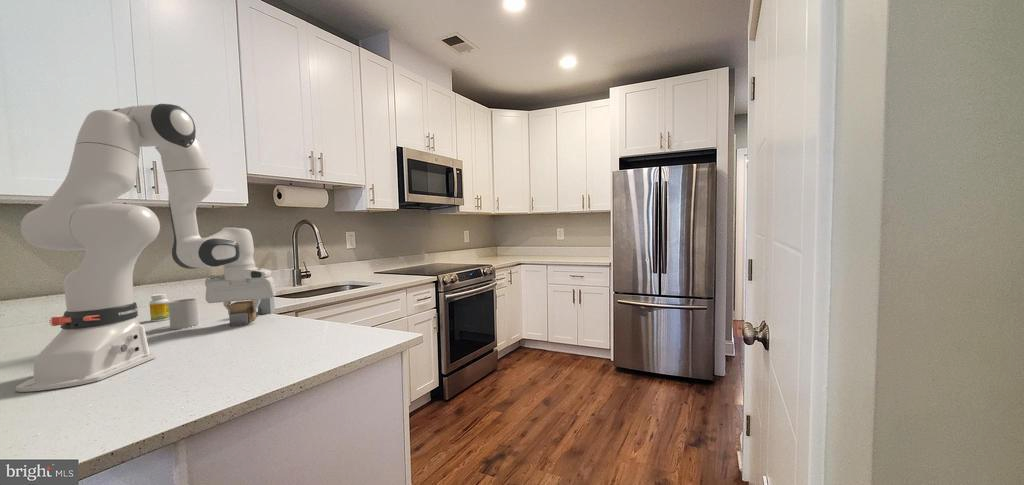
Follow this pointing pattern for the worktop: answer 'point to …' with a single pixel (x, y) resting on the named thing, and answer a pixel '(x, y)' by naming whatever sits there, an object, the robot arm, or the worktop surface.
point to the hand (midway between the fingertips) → (243, 313)
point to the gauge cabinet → (267, 305)
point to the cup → (183, 313)
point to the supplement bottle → (159, 308)
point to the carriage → (244, 308)
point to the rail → (240, 318)
